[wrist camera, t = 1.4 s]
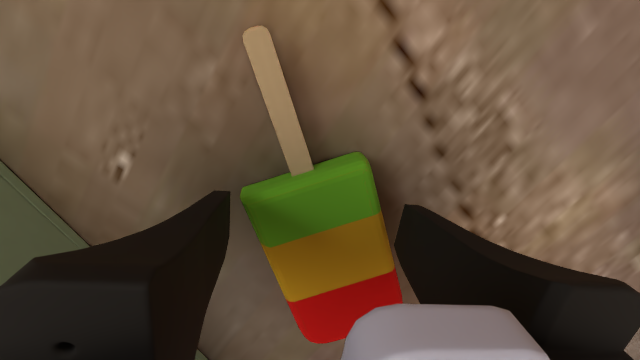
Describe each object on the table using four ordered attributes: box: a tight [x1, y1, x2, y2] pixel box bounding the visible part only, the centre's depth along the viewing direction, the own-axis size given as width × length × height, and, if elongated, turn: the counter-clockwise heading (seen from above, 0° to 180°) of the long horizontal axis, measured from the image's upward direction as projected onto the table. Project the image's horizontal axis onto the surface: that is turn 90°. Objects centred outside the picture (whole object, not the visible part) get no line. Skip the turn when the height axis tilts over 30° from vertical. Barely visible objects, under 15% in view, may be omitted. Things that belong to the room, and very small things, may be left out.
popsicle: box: [240, 26, 403, 344], centre depth 14 cm, size 6×15×2 cm, turn 16°
